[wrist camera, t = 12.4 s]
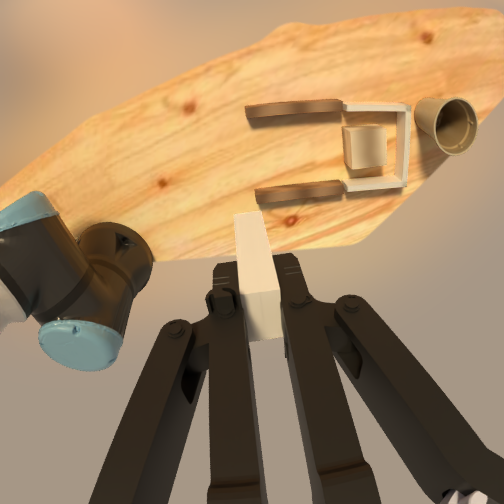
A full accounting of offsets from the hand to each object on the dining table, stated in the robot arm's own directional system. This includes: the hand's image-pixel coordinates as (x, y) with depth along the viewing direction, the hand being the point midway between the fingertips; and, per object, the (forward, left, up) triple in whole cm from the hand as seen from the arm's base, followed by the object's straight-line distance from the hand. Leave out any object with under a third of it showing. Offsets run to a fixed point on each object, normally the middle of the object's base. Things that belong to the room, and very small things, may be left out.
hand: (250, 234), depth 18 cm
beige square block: (+20, -5, -33) cm, 38 cm away
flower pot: (+33, 0, -33) cm, 46 cm away
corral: (+22, -5, -32) cm, 39 cm away
